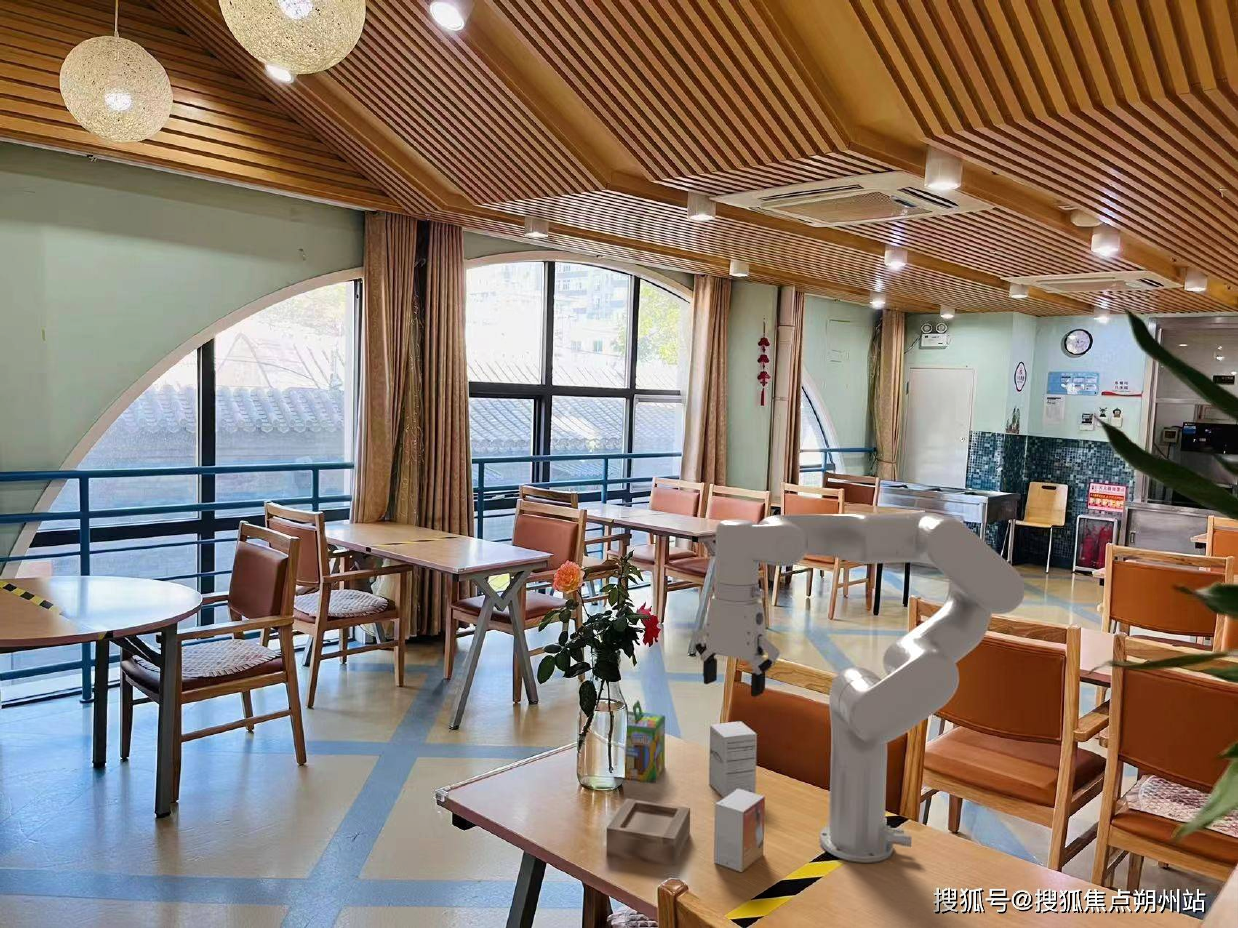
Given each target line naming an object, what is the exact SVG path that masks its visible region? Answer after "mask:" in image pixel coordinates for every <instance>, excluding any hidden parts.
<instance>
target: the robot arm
mask: <svg viewBox="0 0 1238 928" xmlns="http://www.w3.org/2000/svg"><path fill="white" fill-rule="evenodd" d="M714 555H715V556H714V582H713V583H714V585H713V586H714V591H713V595H712V597H710V598H711V599H710V602H709V605H708V611H707V617H706V626H705V627H704V628H702V629H699V630H697V631H694V632H692V633H691V637H692V640H693V642H694V643H693V644H695V650H696V652H697V653H699V656H700V660H701V661H702V664H703V666H702V667H703V668H702V677H703V684H704V685H709V684H712V683H715V682H716V681H717V677H718V675H717V674H718V659H717V658H715V657H716V655H719V656H723V657H728V658H731V659H732V658H733V659H736V660H740V661H746V662H748V664H749V666H751V668H752V670H753V672H752V673H751V677H750V679H751V680H750V696H751V697H752V698H753V697H754V698H756V697H758V696H761V695H763V694H764V692H765V690H766V673H767V672H768V671H769V670H770V669H771V668H773V666H774V665H775V663H776V661H777V659H778V657H779V656H780V654H781V651H780V649H779V648H778V647H776V646H775V645H774V644H773V643H771V642H770V641H769V640H768V639H767V627H766V626H767V625H766V624H767V623H766V615H765V610H764V609H765V608H764V606H763V605H764V604H763V601H762V600H759V598H763V597H764V596H765V590H764V589H761V588H760V584H759V574H760V570H759V568H760V564H762V565H763V564H765V565H771V566H776V567H791V566H794V565H797V564H798V563H800V562H802V561H803V560H804V558H806V557H805V556H807V555H808V556H825V557H830V558H837V559H840V560H844V561H847V562H850V563H857V564H866V565H867V564H885V563H886V564H889V563H890V564H891V563H892V564H893V563H929V564H931V565H932V566H935V567H936V568H937V569H938V570H939V571H940V572H941V573H942V574H943V575H944V576H945V577H946V578H948V590H947V591H948V592H947V595H946V597H945V601H944V602H943V604H942V606H941V607H940V608H939V609H938V610H937V611H936V612H935V613H934V614H932V615H931V616H930V617H928V618H927V619H926V620H925V621H923V622H922V623H920V624H919V625H917V626H916V627H915V628H913V629H912V630H910V631H908V632H907V633H906V634H904V635H903V636H902V637H899V638H898V639H897V640H895V641H894V642H893V643H892V644H890V645H889V646H888V647H887V648H886V650H885V652H884V653H883V658H882V663H883V668H884V671H885V673H886V674H887V675H886V676H885V677H884V678H881V677H879V676H878V675H877V674H876V673H874V672H873V671H871V670H869V669H867V668H864V667H860V666H859V667H858V666H856V667H855V666H853V667H848V668H845V669H843V670H842V671H840V672H839V673H837V675H836V676H835V677H834V679H833V681H832V683H831V686H830V690H829V697H828V699H829V701H828V705H829V714H830V715H829V716H830V729H831V736H830V737H831V740H830V741H831V743H830V747H831V748H830V752H831V753H830V771H829V772H830V778H829V779H830V780H829V809H828V811H829V812H828V813H829V814H828V825H827V826H825V827H823V829H821V830H820V833H819V843H820V845H821V847H822V848H823V849H824V850H825V851H826V852H828V853H829V854H831V855H832V856H834V857H837V858H839V859H842V860H845V861H849V862H855V863H863V864H865V863H866V864H867V863H877V862H881V861H884V860H886V859H888V858H890V857H891V855H892V854H893V852H894V845H898V846H900V847H901V846H902V847H907V848H912V837H913V836H912V835H911V834H905V829H904V828H894V827H891V825H887V822H888V821H887V820H888V819H887V817H886V800H887V799H886V798H887V797H886V795H887V793H886V792H887V768H888V767H887V766H888V765H887V763H888V743H890V742H892V741H894V740H897V739H898V738H900V737H901V736H902V735H904V734H905V733H907V732H908V731H910V730H912V729H914V727H916V726H918V725H920V723H922V722H923V721H925V720H926V719H928V718H929V717H931V716H933V714H935V713H936V712H938V711H939V710H940V709H942V708H943V707H945V706H946V705H947V704H948V703H949V702H950V700H951V699H952V698H953V697H954V695H955V694H956V692H957V690H958V687H959V682H960V674H959V668H958V666H957V662H959V661H960V660H962V659H963V658H965V656H967V655H968V654H969V653H970V652H972V651H973V650H974V649H975V648H976V647H977V646H978V645H979V644H980V643H981V642H982V640H983V639H984V637H985V635H986V634H987V632H988V628H989V625H990V622H991V619H992V615H994V614H995V615H1003V614H1004V615H1005V614H1007V613H1010V612H1013V611H1014V610H1016V609H1017V608H1018V607H1020V605H1021V603H1022V602H1023V599H1024V596H1025V593H1026V589H1025V583H1024V579H1023V578H1022V576H1021V574H1020V573H1019V571H1018V570H1017V569H1016V568H1015V567H1014V566H1012V564H1011V563H1009V562H1008V561H1007V560H1006V559H1005V558H1003V556H1001V555H1000V554H999V553H998V552H997V551H996V550H994V549H993V548H992V547H991V546H990V545H989V544H987V542H986V541H984V540H983V539H982V538H981V537H979V535H977V533H976V532H974V531H973V530H972V529H970V528H969V527H968V526H967V525H965V523H963V522H962V521H960V520H958V519H955V518H953V517H949V516H946V515H945V514H944V515H943V514H940V513H935V512H905V513H904V512H903V513H901V512H900V513H873V514H872V513H870V514H869V513H867V514H866V513H865V514H855V513H854V514H853V513H852V514H851V513H850V514H849V513H845V514H827V513H825V514H824V513H823V514H821V513H819V514H818V513H808V514H807V513H804V514H803V513H800V514H795V513H794V514H776V515H775V514H774V515H770V516H767V517H765V518H763V519H762V520H760V521H759V523H756V522H755V521H752V520H746V519H724V520H721V521H720V522H718V524H717V525H716V528H715V554H714ZM704 637H705V642H704ZM766 654H767V657H766V659H765V658H764V656H765V655H766Z"/></svg>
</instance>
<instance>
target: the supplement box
mask: <svg viewBox="0 0 1238 928" xmlns="http://www.w3.org/2000/svg"><path fill="white" fill-rule="evenodd" d="M757 737H758V734H757V733H756V731H754V730H752V729H751V728H750V727H749V726H747V725H746V724H745V723H744V722H742V721H740V720H739V721H731V722H721V723H715V724H710V726H709V756H708V757H709V759H708V762H709V763H708V765H709V766H708V768H709V770H708V784H709V785H710V786H712V787H713V789H715V791H716V792H717V793H718V794H719V795H720V796H721V797H722V799H724V798H725V797H727V796H728V795H730V794H731V793H732V792H734V791H735V790H736V789H742V790H745V791H748V792H751V793H755V794H756V785H757V784H756V781H757V780H756V777H757V744H758V743H757V740H758V738H757Z"/></svg>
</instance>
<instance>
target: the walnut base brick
mask: <svg viewBox="0 0 1238 928" xmlns="http://www.w3.org/2000/svg"><path fill="white" fill-rule="evenodd" d="M690 834H691V807H688V806H687V807H686V806H678V805H672V804H666V803H658V802H653V801H644V800H638V799H633V798H626V799H625V800H624V802H623V804H621V807H619V810H618V811H617V812H616V813H615V816H613V819H612V820H611V822H610V823H609V824H608V826H607V827H606V848H605V849H606V852H605V853H606V856H609V857H614V858H621V859H626V860H633V861H637V862H645V863H649V864H657V865H662V866H668V867H675V866H676V864H677V862H678V859H679V857H680V855H681V854H682V851H683V849H684V847H685V845H686V843H687V841H688V839H689V837H690Z"/></svg>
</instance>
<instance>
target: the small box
mask: <svg viewBox="0 0 1238 928" xmlns="http://www.w3.org/2000/svg"><path fill="white" fill-rule="evenodd" d="M765 800H766V798H765V796H764V795H761V794H757V793H756V792H755V793H751V792H748V791H745V790H742V789H736V790H735V791H734V792H732V793H731V794H730V795H728V796H727V797H725V798H722V799H721V800H719V801H717V802H716V803H714V833H713V834H714V836H713V840H714V841H713V843H714V844H713V862H714V864H717V865H719V866H720V865H721V866H723V867H725V868H729V869H732V870H735V871H737V872H740V873H743V872H744V871H745V870H746V869H747V868H748V867H750V866H751V865H753V863H754V862H756V861H757V860H758V859H760V858H761V857H762V856H764V845H765V844H764V841H765V840H764V839H765V809H766V808H765V805H766V804H765V803H766V801H765Z"/></svg>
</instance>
